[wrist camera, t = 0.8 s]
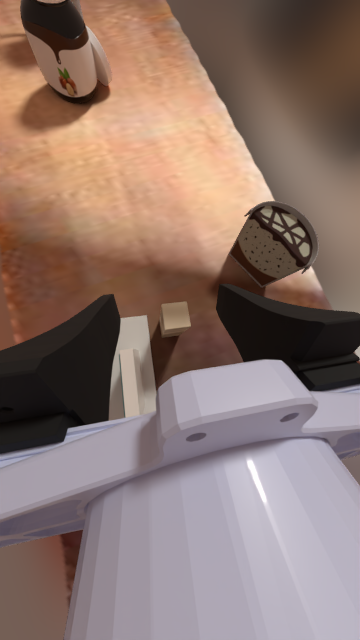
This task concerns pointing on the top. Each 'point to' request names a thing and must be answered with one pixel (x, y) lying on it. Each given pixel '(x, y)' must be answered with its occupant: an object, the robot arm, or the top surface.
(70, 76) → the spread jar
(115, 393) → the mat
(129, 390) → the tile
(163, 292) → the top surface
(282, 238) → the food container
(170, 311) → the stick
